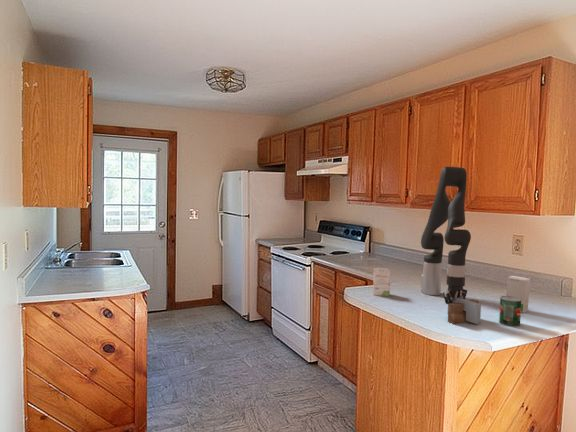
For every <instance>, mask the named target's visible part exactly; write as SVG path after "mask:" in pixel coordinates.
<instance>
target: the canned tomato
mask: <svg viewBox="0 0 576 432" xmlns="http://www.w3.org/2000/svg"><path fill="white" fill-rule="evenodd" d="M521 315H522V313H521V299H520V298H517V297H513V296H506V295H501V296H499V314H498V316H499V318H498V319H499V320H498V323H499V324H501V325H503V326H506V327H510V328H511V327H512V328H518V327H520V326H521Z"/></svg>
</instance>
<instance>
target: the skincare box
mask: <svg viewBox="0 0 576 432" xmlns="http://www.w3.org/2000/svg"><path fill="white" fill-rule="evenodd" d="M506 283H507V284H506V285H507V286H506V295H505V296H513V297H517V298H520V299H521V314H525V313H526V312H528V310H529V300H530V289H531V288H530V287H531V278H528V277H523V276H517V275H510V276H508V277H507V282H506Z"/></svg>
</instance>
